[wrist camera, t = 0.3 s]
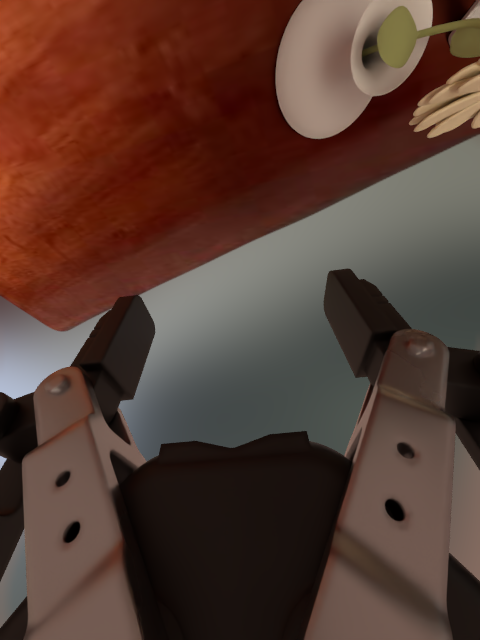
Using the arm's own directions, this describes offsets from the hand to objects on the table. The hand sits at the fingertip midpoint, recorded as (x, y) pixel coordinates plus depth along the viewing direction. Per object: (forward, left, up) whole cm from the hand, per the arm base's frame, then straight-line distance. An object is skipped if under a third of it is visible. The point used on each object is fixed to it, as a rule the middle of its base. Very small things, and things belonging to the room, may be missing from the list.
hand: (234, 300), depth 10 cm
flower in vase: (-8, +12, -29) cm, 33 cm away
